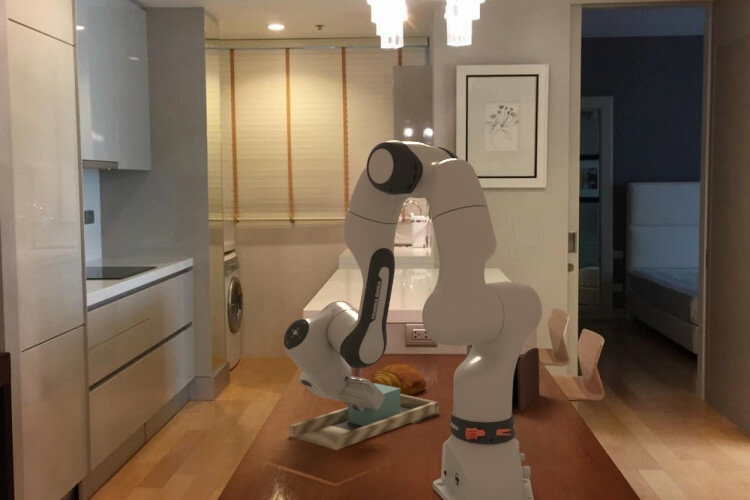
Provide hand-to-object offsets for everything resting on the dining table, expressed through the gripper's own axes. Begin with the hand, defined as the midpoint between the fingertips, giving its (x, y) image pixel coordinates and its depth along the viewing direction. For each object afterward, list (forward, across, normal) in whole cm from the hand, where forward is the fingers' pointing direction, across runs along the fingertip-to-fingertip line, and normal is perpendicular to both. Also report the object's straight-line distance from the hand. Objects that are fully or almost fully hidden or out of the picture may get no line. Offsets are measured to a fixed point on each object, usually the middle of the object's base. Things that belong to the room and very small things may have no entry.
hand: (359, 407), depth 193 cm
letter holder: (+34, -16, -27) cm, 46 cm away
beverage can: (+27, +32, -20) cm, 46 cm away
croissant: (+28, +15, -20) cm, 37 cm away
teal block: (+7, 0, -1) cm, 7 cm away
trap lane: (+6, 0, +2) cm, 6 cm away
